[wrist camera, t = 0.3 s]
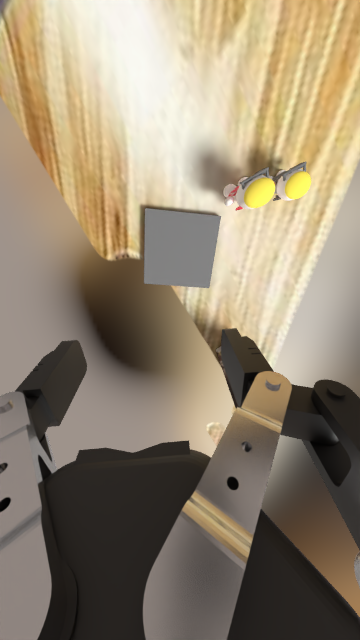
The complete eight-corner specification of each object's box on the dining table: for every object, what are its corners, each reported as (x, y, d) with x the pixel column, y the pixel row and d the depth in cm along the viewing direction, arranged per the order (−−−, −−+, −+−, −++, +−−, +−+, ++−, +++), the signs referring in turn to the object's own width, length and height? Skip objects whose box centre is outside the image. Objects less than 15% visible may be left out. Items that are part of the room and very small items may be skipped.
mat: (145, 208, 33) (145, 208, 32) (219, 216, 34) (220, 216, 33) (144, 281, 38) (143, 283, 37) (208, 286, 39) (209, 288, 38)
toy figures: (293, 165, 31) (332, 150, 24) (292, 198, 33) (328, 194, 26) (215, 183, 32) (230, 174, 24) (218, 214, 34) (233, 215, 26)
